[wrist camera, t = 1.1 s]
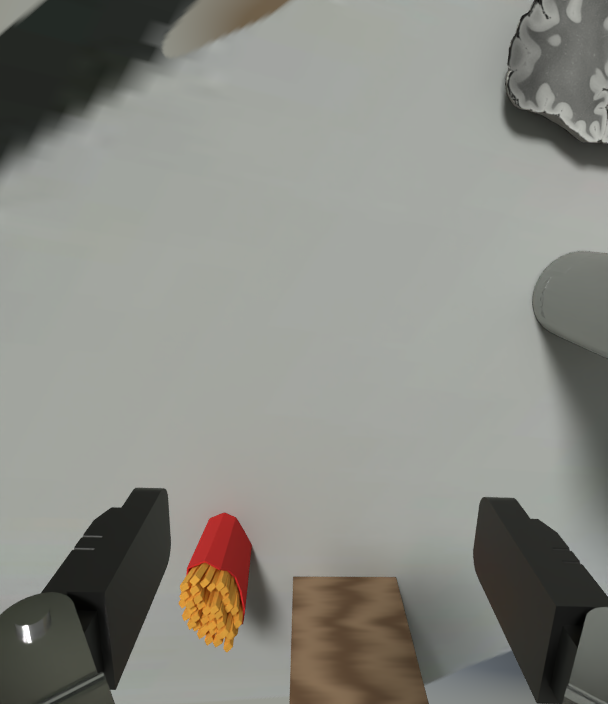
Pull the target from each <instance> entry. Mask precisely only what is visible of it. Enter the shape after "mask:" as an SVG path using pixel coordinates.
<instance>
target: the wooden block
mask: <svg viewBox="0 0 608 704" xmlns="http://www.w3.org/2000/svg"><path fill="white" fill-rule="evenodd" d="M290 704H429V703H428V699H427V695H426V691H425V688H424V684H423V680H422V676H421V672H420V668H419V664H418V661H417V657H416V653H415V649H414V645H413V641H412V637H411V633H410V630H409V626H408V622H407V618H406V614H405V610H404V606H403V603H402V599H401V595H400V591H399V587H398V583H397V579H396V577H293V605H292V639H291V674H290Z"/></svg>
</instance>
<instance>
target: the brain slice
mask: <svg viewBox="0 0 608 704" xmlns="http://www.w3.org/2000/svg"><path fill="white" fill-rule="evenodd" d="M507 65H508V68H509V70H508V73H507V75H506V91H507V94H508V97H509V98H510V100H511V102H512V103H513V105H514V106H516V107H518V108H519V109H526V110H528V111H530V112H534V113H537V114H540V115H542V116H544V117H546V118H548V119H549V120H551V121H552V122H554V123H556V124H558V125H560V126H561V127H563V128H564V129H566V130H567V131H568V132H570V133H571V134H572V135H573V136H574V137H576V138H577V139H578V140H580V141H581V142H594V143H597V142H598V143H604V144H608V0H534V2H533V4H532V6H531V8H530V10H529V12H528V13H526V14H524V15H523V16H522V17H521V19H520V21H519V23H518V26H517V30H516V33H515V36H514V37H513V39H512V40H511V43H510V47H509V56H508V63H507Z"/></svg>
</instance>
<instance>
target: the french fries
mask: <svg viewBox="0 0 608 704" xmlns="http://www.w3.org/2000/svg"><path fill="white" fill-rule="evenodd" d="M251 547H252V545H251V543H250V541H249V539H248V537H247V535H246V533H245V531H244V530H243V528H242V526H241V525H240V523H239V522H238V520H237V518H236V517H234V516H231V515H229V514H227V513H222V514H219V515H217V516H215V517H212V518H210V519H209V521H208V523H207V525H206V527H205V530H204V532H203V534H202V536H201V538H200V541H199V543H198V545H197V547H196V550H195V552H194V554H193V556H192V558H191V561H190V563H189V565H188V567H187V575H186V578H185V579H184V580H183V582H182V583H181V585H180V589H181V592H182V593H181V594H180V596H179V597H180V598H181V600H180V601H179V605H180V606H181V608H183V607H185V606H186V609H185V611H184V613H183V615H182V617H183V620H184V621H185V620H187V619H189V618H190V619H189V621H188V624H187V625H188V627H189V630H190V629H191V628H193V630H194V631H196V630H198V629H199V630H198V633H197V635H198V637H199V639H200V638H202V637H203V636H205V635H206V638H205V642H206V644H207V645H209V644H210V643H211V642H213V641H214V642H213V644H214V646H215V647H217V646H219V645H220V644H222V642H223V639H224V638H225V642H224V650H225V651H226V652H228V651H229V650H230V649H231V648H232V647H233V640H234V637H235V636H236V635H237V634H238V627H239V626H240V625H241V624H243V621H244V614H245V605H246V596H247V586H248V576H249V567H250V557H251ZM215 634H216V635H215Z"/></svg>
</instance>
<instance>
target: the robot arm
mask: <svg viewBox="0 0 608 704" xmlns="http://www.w3.org/2000/svg"><path fill="white" fill-rule="evenodd" d="M533 308H534V313H535V315H536V317H537V319H538V321H539V322H540V324H541V325H542V326H543V327H544V328H545V329H546V330H548V331H549V332H551V333H553V334H555V335H557V336H559V337H561V338H563V339H566V340H568V341H570V342H572V343H574V344H576V345H578V346H580V347H583V348H585V349H587V350H589V351H591V352H594V353H596V354H598V355H600V356H602V357H605V358H607V359H608V253H600V252H590V251H578V252H573V253H569V254H566V255H564V256H561V257H560V258H558V259H557V260H555V261H553V262H552V263H551V264H550V265H549V266H548V267H547V268H546V269H545V270H544V271H543V273H542V274H541V276H540V277H539V279H538V281H537V283H536V285H535V289H534V293H533ZM170 549H171V536H170V521H169V505H168V494H167V491H166V489H164V488H135V489H134V490H133V491H132V493H131V494H130V496H129V497H128V499H127V500H126V502H125V503H124V505H123V506H122V508H114V507H112V508H110V509H109V510H107V511H106V512H105V513H103V514H102V515H100V516H99V517H98V518H96V519H95V520H94V521H93V522H92V524H91V525H90V526H89V528H88V529H87V530H86V532H85V533H84V535H83V538H81V539H80V540H79V541H78V543H77V544H76V546H75V548H74V550H72V551H71V552H70V554H69V555H68V557H67V558H66V559H65V561H64V562H63V563H62V565H61V566H60V568H59V569H58V570H57V572H56V573H55V575H54V576H53V577H52V579H51V580H50V581H49V583H48V584H47V586H46V587H45V588H44V590H43V591H42V592H41V594H36V595H33V596H30V597H27V598H25V599H23V600H20V601H19V602H17V603H15V604H13V605H12V606H10V607H9V608H7V609H6V610H5V611H4V612H3V613H2V614H1V615H0V704H115V702H114V700H113V697H112V694H111V691H110V690H116V688H117V685H118V683H119V681H120V678H121V676H122V673H123V671H124V669H125V666H126V664H127V661H128V659H129V657H130V654H131V652H132V649H133V647H134V645H135V642H136V640H137V637H138V635H139V633H140V630H141V628H142V625H143V623H144V621H145V618H146V616H147V613H148V611H149V609H150V606H151V604H152V601H153V599H154V597H155V594H156V592H157V589H158V587H159V585H160V582H161V580H162V577H163V575H164V573H165V570H166V568H167V565H168V561H169V556H170ZM473 558H474V566H475V571H476V574H477V577H478V579H479V581H480V583H481V585H482V587H483V590H484V592H485V594H486V596H487V598H488V600H489V602H490V604H491V607H492V609H493V611H494V613H495V615H496V617H497V619H498V621H499V624H500V626H501V628H502V630H503V632H504V634H505V636H506V638H507V641H508V643H509V645H510V647H511V649H512V651H513V653H514V655H515V658H516V660H517V662H518V664H519V666H520V668H521V670H522V672H523V675H524V676H525V679H526V681H527V683H528V685H529V687H530V690H531V692H532V694H533V696H534V698H535V700H536V702H537V703H542V704H608V596H607V595H606V594H605V593H604V591H603V590H602V589H601V587H600V586H599V585H598V584H597V582H596V581H595V580H594V579H593V577H592V576H591V575H590V574H589V572H588V571H587V570H586V569H585V567H584V566H583V565H582V564H580V561H579V560H578V558H577V557H576V556H575V555H574V553H573V552H572V551H570V550H569V547H568V546H567V545H566V543H565V542H564V541H563V540H562V538H561V537H560V536H559V534H558V533H557V532H556V531H554V530H553V529H551V528H550V527H549V526H547V525H546V524H544V523H543V522H541V521H540V520H539V519H530V518H529V516H528V515H527V513H526V512H525V511H524V509H523V508H522V507H521V505H520V504H519V503H518V501H517V500H516V499H515V498H498V497H483V498H482V499H481V501H480V505H479V512H478V519H477V527H476V534H475V541H474V549H473Z"/></svg>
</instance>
